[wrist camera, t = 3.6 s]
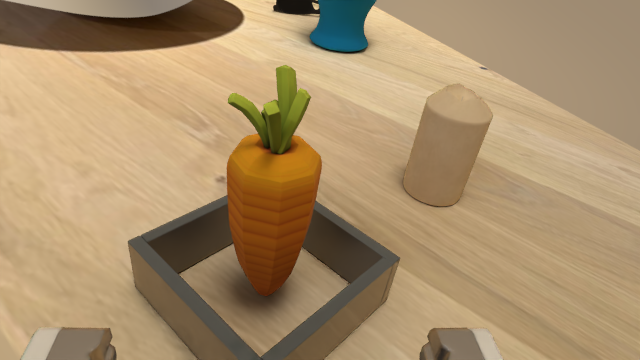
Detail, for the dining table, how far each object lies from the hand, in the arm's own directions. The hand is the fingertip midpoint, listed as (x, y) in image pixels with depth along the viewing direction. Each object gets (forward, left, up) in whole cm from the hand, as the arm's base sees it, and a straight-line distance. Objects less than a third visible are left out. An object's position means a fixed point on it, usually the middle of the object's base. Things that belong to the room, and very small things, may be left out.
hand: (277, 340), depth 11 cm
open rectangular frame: (+8, +9, -13) cm, 18 cm away
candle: (+28, +8, -13) cm, 32 cm away
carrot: (+8, +9, -13) cm, 18 cm away
